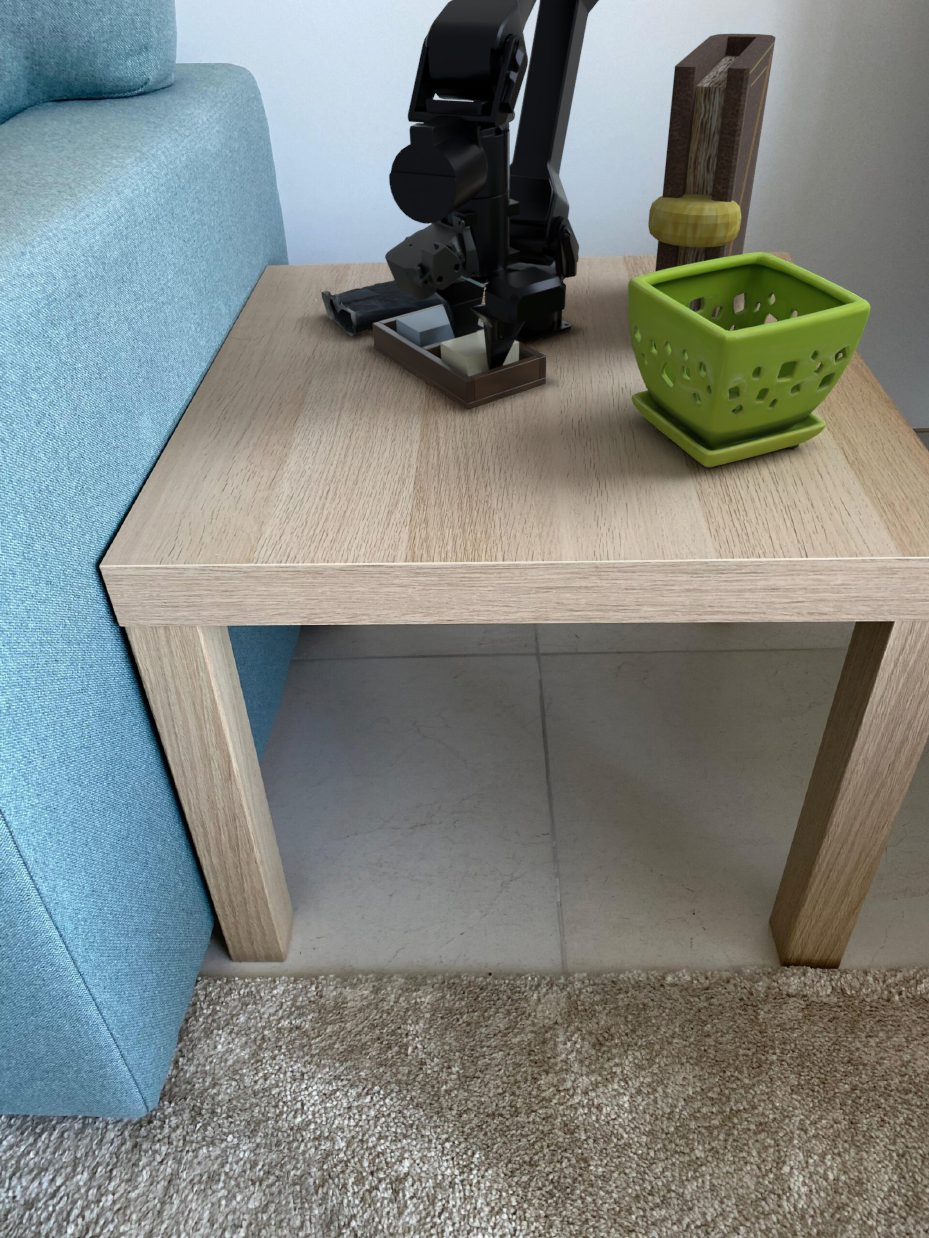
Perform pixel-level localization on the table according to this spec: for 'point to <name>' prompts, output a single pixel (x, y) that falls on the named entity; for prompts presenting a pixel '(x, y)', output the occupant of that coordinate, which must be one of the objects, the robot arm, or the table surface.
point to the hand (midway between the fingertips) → (480, 362)
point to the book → (712, 151)
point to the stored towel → (425, 327)
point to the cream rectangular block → (472, 353)
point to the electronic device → (372, 306)
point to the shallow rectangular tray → (451, 379)
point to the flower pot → (740, 353)
